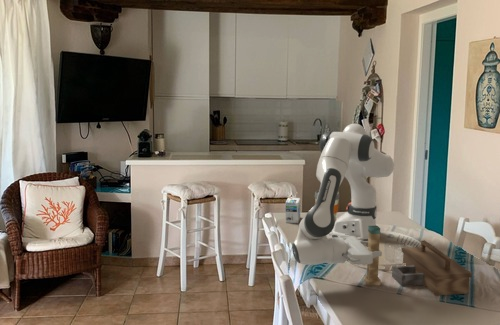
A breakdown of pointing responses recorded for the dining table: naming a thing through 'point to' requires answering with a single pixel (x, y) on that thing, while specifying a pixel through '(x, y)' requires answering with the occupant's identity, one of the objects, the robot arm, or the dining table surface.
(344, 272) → the dining table surface
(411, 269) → the toolbox
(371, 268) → the wooden key
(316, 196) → the reusable coffee cup
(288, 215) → the light bulb box
